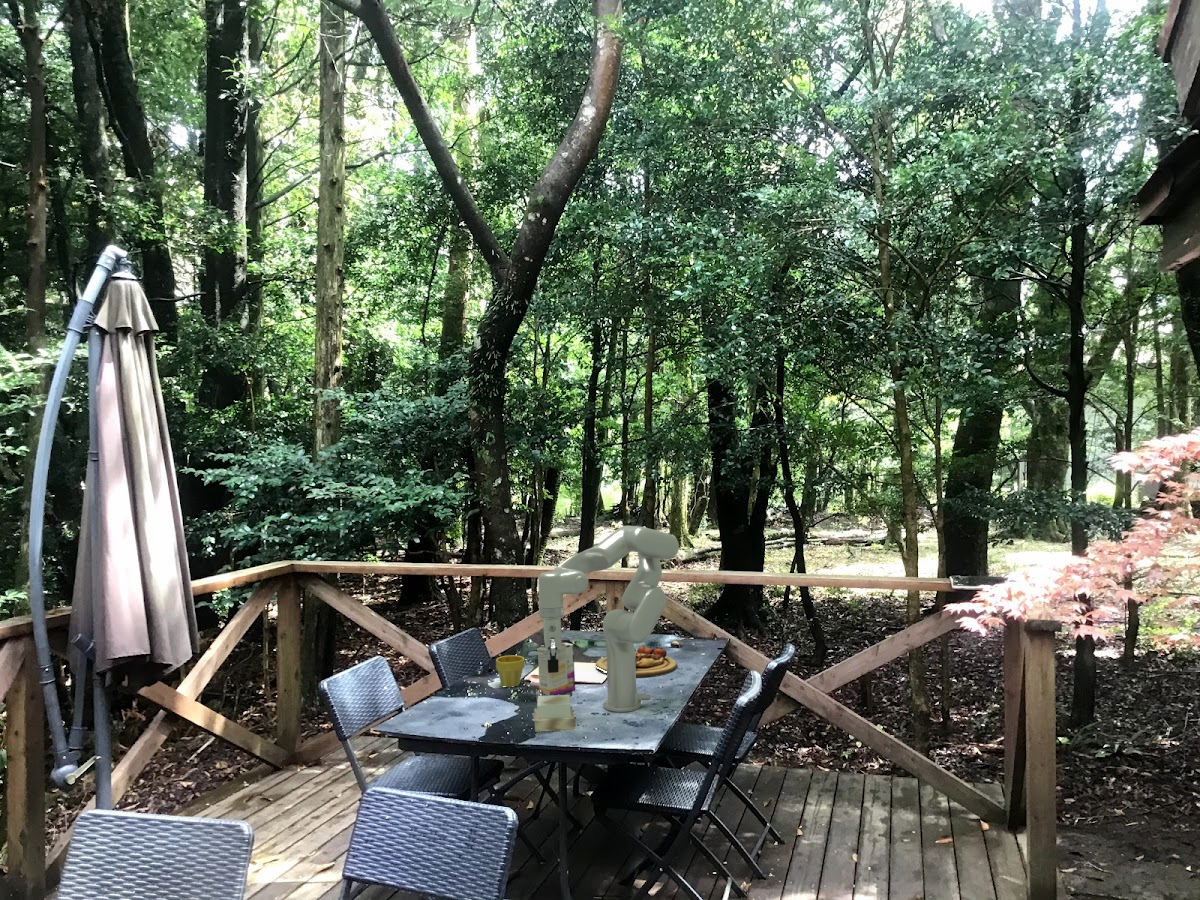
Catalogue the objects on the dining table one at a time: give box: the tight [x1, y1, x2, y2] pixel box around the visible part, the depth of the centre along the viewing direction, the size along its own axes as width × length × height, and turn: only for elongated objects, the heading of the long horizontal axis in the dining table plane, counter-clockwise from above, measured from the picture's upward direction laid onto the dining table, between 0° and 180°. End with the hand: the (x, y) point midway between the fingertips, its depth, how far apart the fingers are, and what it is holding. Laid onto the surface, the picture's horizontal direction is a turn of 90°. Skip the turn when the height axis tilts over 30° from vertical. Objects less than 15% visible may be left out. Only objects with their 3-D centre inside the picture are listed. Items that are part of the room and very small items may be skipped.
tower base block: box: [533, 705, 576, 733], centre depth 239 cm, size 12×12×4 cm
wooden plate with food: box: [595, 645, 678, 678], centre depth 305 cm, size 32×32×8 cm
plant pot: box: [495, 654, 525, 687], centre depth 283 cm, size 10×10×10 cm
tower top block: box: [536, 694, 571, 719], centre depth 239 cm, size 10×10×4 cm
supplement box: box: [537, 644, 567, 692], centre depth 239 cm, size 8×5×13 cm, turn 141°
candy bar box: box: [542, 642, 576, 696], centre depth 273 cm, size 11×5×16 cm, turn 130°
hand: (552, 668), depth 239 cm, fingers closed on supplement box, 9 cm apart
